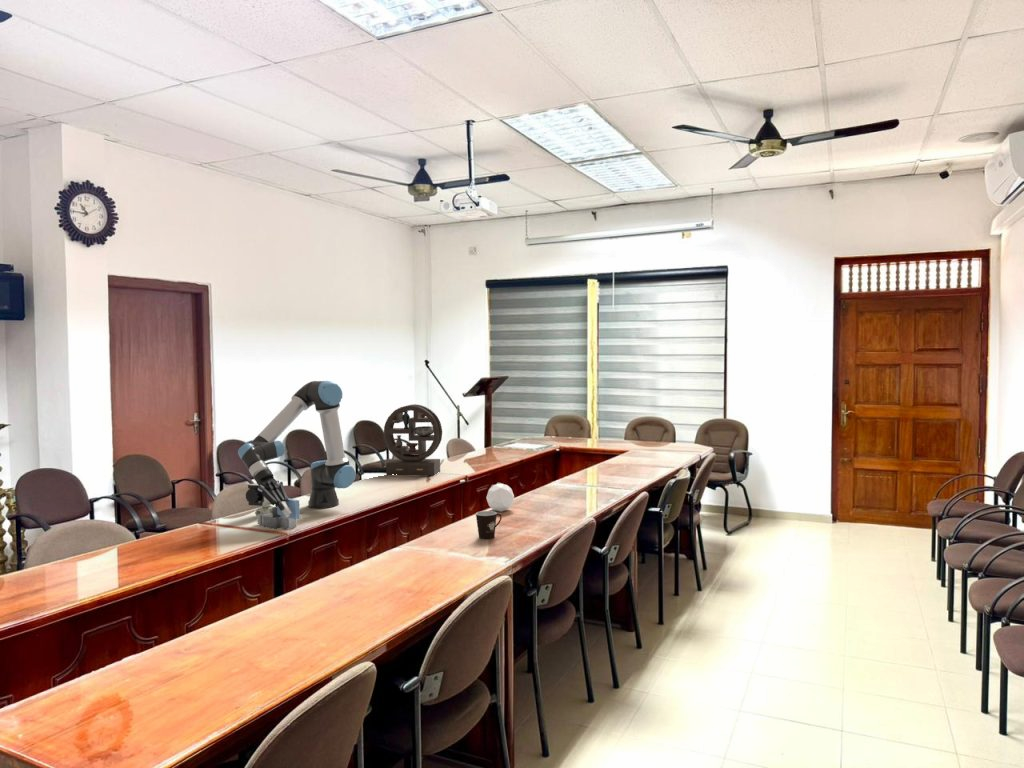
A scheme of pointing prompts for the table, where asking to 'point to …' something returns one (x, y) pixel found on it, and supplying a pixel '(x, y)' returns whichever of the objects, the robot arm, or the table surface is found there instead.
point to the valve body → (275, 521)
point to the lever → (293, 508)
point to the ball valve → (258, 499)
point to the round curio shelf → (406, 460)
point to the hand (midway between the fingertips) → (289, 514)
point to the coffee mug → (487, 524)
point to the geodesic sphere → (500, 497)
